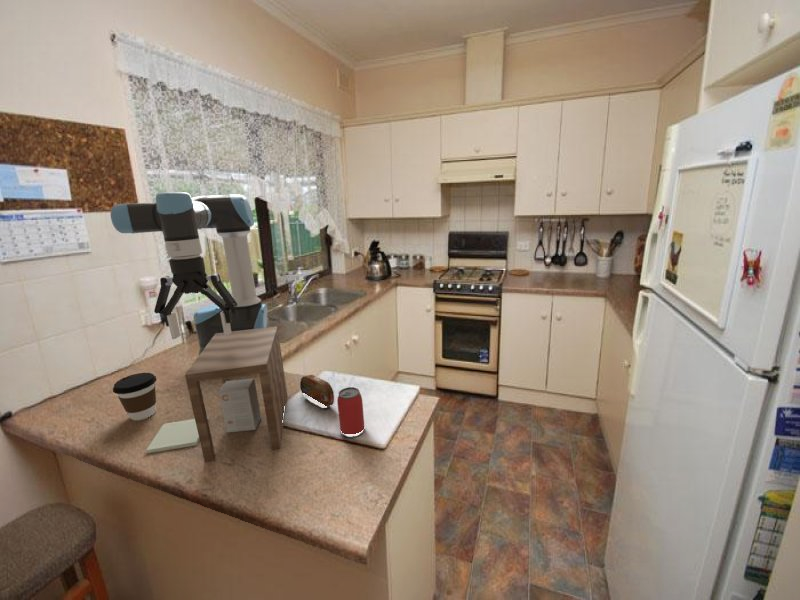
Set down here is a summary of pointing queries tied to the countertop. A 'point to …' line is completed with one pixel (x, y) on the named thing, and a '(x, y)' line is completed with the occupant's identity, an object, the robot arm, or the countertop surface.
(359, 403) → the beer can
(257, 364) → the wooden step stool
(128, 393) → the coffee cup
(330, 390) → the brown rounded flat block
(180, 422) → the pad
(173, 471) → the countertop surface
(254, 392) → the small box
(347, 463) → the countertop surface
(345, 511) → the countertop surface
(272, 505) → the countertop surface
